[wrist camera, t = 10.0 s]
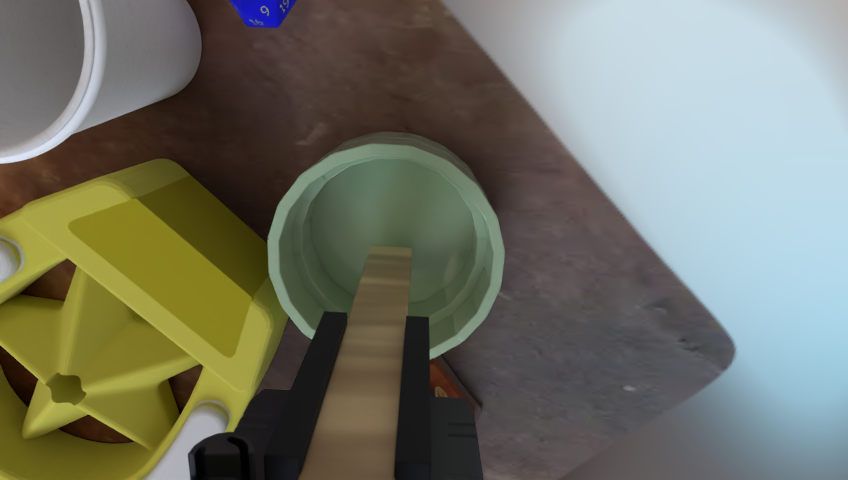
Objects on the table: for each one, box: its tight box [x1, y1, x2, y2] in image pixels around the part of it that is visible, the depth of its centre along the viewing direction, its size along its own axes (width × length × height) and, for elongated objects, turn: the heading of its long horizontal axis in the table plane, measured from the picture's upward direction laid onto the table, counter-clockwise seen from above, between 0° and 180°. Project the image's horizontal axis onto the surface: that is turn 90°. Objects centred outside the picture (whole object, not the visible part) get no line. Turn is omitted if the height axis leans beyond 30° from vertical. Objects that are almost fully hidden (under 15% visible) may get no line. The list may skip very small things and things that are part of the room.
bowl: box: [267, 131, 505, 359], centre depth 24 cm, size 10×10×5 cm
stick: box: [298, 246, 412, 480], centre depth 17 cm, size 2×2×16 cm
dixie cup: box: [0, 0, 202, 164], centre depth 18 cm, size 8×8×10 cm
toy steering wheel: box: [0, 158, 289, 480], centre depth 26 cm, size 16×21×5 cm
